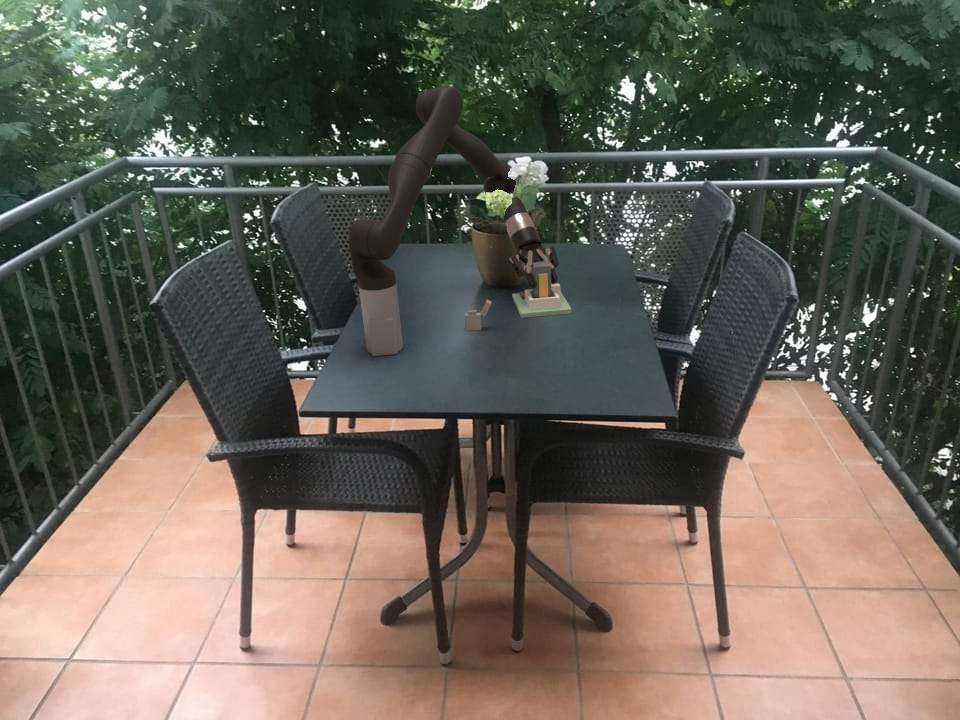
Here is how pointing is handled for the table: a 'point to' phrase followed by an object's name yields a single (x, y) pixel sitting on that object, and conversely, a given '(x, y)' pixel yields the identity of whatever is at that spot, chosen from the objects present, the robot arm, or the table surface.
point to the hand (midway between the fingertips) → (545, 284)
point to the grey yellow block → (542, 279)
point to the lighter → (476, 317)
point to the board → (541, 303)
